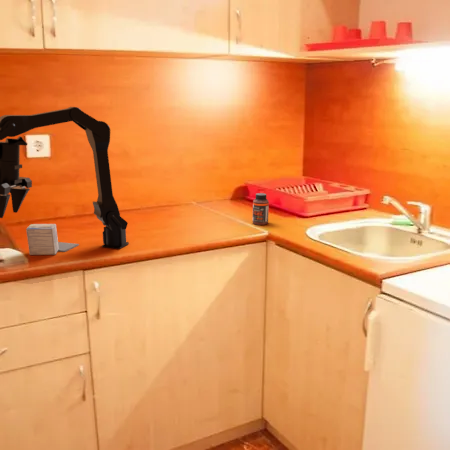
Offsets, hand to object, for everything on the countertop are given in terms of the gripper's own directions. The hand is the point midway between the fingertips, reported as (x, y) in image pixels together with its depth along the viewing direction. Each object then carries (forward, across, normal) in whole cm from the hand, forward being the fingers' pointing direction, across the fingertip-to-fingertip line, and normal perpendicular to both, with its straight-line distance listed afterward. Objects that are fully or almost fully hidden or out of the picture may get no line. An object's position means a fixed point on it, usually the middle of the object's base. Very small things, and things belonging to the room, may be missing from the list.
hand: (8, 215), depth 155 cm
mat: (+12, -16, +10) cm, 22 cm away
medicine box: (+13, -9, +7) cm, 17 cm away
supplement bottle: (+5, -52, +73) cm, 90 cm away
